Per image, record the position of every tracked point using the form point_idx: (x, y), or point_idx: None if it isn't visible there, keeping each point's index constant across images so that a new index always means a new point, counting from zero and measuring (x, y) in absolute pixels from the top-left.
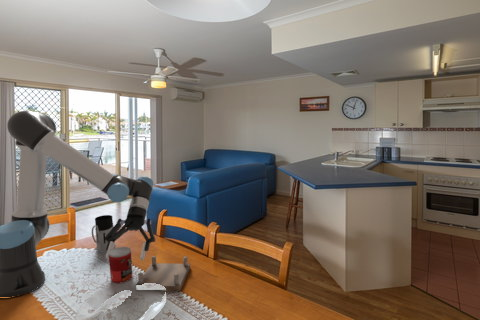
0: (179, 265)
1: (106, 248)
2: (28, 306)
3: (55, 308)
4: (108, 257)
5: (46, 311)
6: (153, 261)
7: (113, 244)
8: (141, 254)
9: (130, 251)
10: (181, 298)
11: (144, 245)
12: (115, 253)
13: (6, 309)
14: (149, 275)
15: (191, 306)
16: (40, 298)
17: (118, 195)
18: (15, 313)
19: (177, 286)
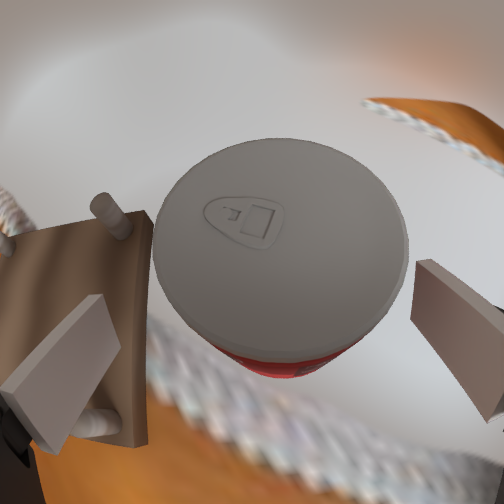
0: None
1: (501, 310)
2: (462, 124)
3: (387, 115)
4: (417, 284)
5: (397, 107)
6: (91, 409)
7: (488, 387)
8: (82, 308)
9: (157, 266)
10: (19, 217)
11: (27, 360)
12: (308, 193)
13: (489, 120)
14: None
15: (8, 195)
16: (475, 152)
17: None
18: (456, 106)
19: (11, 237)
